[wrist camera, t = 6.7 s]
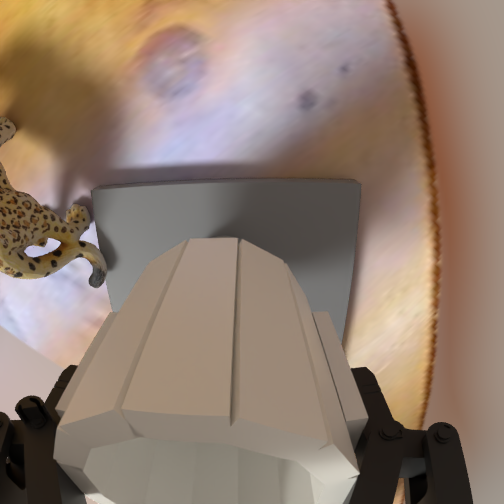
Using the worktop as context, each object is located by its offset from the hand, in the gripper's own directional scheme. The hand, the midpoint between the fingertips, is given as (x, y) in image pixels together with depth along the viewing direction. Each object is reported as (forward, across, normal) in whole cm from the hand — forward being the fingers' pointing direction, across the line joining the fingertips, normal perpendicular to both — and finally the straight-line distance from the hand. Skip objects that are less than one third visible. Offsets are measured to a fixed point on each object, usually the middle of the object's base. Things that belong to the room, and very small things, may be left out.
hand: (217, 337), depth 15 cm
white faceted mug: (+1, 0, +2) cm, 2 cm away
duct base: (+9, 0, +6) cm, 11 cm away
